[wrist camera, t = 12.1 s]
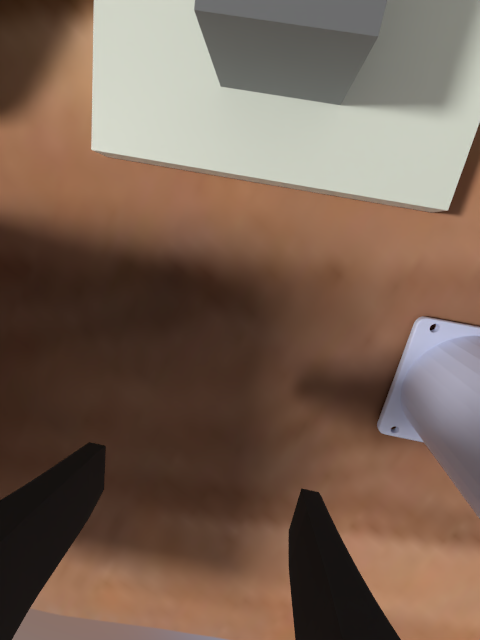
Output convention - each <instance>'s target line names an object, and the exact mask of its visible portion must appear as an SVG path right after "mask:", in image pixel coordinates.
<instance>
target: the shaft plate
mask: <svg viewBox="0 0 480 640" xmlns="http://www.w3.org/2000/svg"><path fill="white" fill-rule="evenodd" d="M194 6H195V0H94V25H93V88H92V150H93V151H95V152H97V153H100V154H102V155H104V156H106V157H111V158H117V159H123V160H128V161H134V162H140V163H146V164H152V165H158V166H163V167H169V168H175V169H181V170H187V171H193V172H198V173H204V174H210V175H216V176H222V177H228V178H233V179H239V180H245V181H251V182H257V183H263V184H268V185H274V186H280V187H286V188H292V189H298V190H303V191H309V192H315V193H321V194H327V195H333V196H338V197H344V198H350V199H356V200H362V201H368V202H373V203H379V204H385V205H391V206H397V207H403V208H408V209H414V210H420V211H426V212H440V211H448V209H449V206H450V203H451V201H452V198H453V195H454V192H455V189H456V187H457V184H458V181H459V178H460V176H461V173H462V170H463V167H464V164H465V162H466V159H467V156H468V153H469V151H470V148H471V145H472V142H473V139H474V137H475V134H476V131H477V128H478V126H479V123H480V0H387V4H386V8H385V12H384V16H383V20H382V24H381V28H380V32H379V36H378V38H377V40H376V42H375V43H374V45H373V47H372V49H371V51H370V53H369V54H368V56H367V58H366V60H365V62H364V63H363V65H362V67H361V69H360V71H359V72H358V74H357V76H356V78H355V80H354V82H353V83H352V85H351V87H350V89H349V91H348V92H347V94H346V96H345V98H344V100H343V102H342V103H341V105H335V104H329V103H323V102H316V101H310V100H303V99H297V98H291V97H284V96H278V95H271V94H265V93H259V92H252V91H246V90H239V89H233V88H226V87H221V86H220V83H219V80H218V77H217V75H216V72H215V69H214V66H213V63H212V60H211V57H210V54H209V52H208V49H207V46H206V43H205V40H204V37H203V34H202V31H201V28H200V26H199V23H198V20H197V17H196V14H195V11H194Z"/></svg>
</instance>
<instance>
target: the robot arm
mask: <svg viewBox="0 0 480 640" xmlns="http://www.w3.org/2000/svg"><path fill="white" fill-rule="evenodd" d="M433 324H436V327H435V329H433V330H430V326H431V325H433ZM394 426H396V428H395V429H391V428H392V427H394ZM377 427H378V429H379V431H380V432H381V433H383V434H386V435H391V436H395V437H400V438H405V439H410V440H415V441H420V442H424V443H425V444H426V446H427V447H428V448H429V450H430V451H431V453H432V454H433V455H434V457H435V458H436V459H437V461H438V462H439V464H440V465H441V466H442V468H443V469H444V470H445V472H446V473H447V475H448V476H449V477H450V479H451V480H452V481H453V483H454V484H455V486H456V487H457V488H458V490H459V491H460V492H461V494H462V495H463V497H464V498H465V499H466V501H467V502H468V503H469V505H470V506H471V508H472V509H473V510H474V512H475V513H476V515H477V516H478V517H479V519H480V327H479V326H473V325H468V324H463V323H457V322H452V321H447V320H441V319H436V318H431V317H420V318H418V319H417V320H416V321H415V322H414V325H413V328H412V330H411V333H410V336H409V338H408V341H407V344H406V347H405V349H404V352H403V355H402V358H401V360H400V363H399V366H398V368H397V371H396V374H395V377H394V379H393V382H392V385H391V387H390V390H389V393H388V396H387V398H386V401H385V404H384V407H383V409H382V412H381V415H380V417H379V420H378V423H377ZM105 448H106V446H104V445H99V444H95V443H90V442H89V443H88V444H86V445H85V446H83V447H82V448H80V449H79V450H77V451H76V452H74V453H73V454H71V455H70V456H68V457H67V458H66V459H64V460H63V461H61V462H60V463H58V464H57V465H55V466H54V467H52V468H51V469H49V470H48V471H46V472H45V473H43V474H42V475H40V476H38V477H37V478H35V479H34V480H32V481H31V482H29V483H28V484H26V485H25V486H23V487H21V488H20V489H18V490H17V491H15V492H13V493H12V494H10V495H8V496H7V497H5V498H3V499H2V500H0V640H12V638H13V636H14V635H15V633H16V631H17V629H18V628H19V626H20V624H21V622H22V621H23V619H24V617H25V615H26V613H27V612H28V610H29V609H30V607H31V605H32V604H33V602H34V601H35V599H36V597H37V596H38V594H39V593H40V591H41V590H42V588H43V587H44V585H45V584H46V582H47V581H48V579H49V578H50V576H51V575H52V573H53V572H54V570H55V569H56V567H57V566H58V564H59V563H60V561H61V560H62V558H63V557H64V555H65V554H66V552H67V551H68V549H69V548H70V546H71V545H72V543H73V542H74V540H75V539H76V537H77V536H78V534H79V533H80V531H81V529H82V528H83V526H84V525H85V523H86V522H87V520H88V519H89V517H90V515H91V513H92V511H93V509H94V507H95V506H96V504H97V502H98V500H99V498H100V496H101V494H102V492H103V490H104V473H105ZM289 574H290V586H291V597H292V607H293V618H294V628H295V639H296V640H401V639H400V638H399V636H398V635H397V633H396V632H395V630H394V629H393V627H392V626H391V624H390V622H389V621H388V619H387V618H386V616H385V615H384V613H383V611H382V610H381V608H380V607H379V605H378V603H377V602H376V600H375V598H374V597H373V595H372V593H371V592H370V590H369V588H368V586H367V585H366V583H365V581H364V580H363V578H362V576H361V574H360V572H359V571H358V569H357V567H356V565H355V563H354V562H353V560H352V558H351V556H350V554H349V552H348V550H347V548H346V546H345V545H344V543H343V541H342V539H341V537H340V535H339V533H338V531H337V529H336V527H335V525H334V523H333V521H332V519H331V516H330V514H329V512H328V510H327V508H326V506H325V504H324V501H323V499H322V497H321V495H320V494H319V492H315V491H310V490H306V489H301V492H300V495H299V499H298V502H297V505H296V509H295V512H294V515H293V519H292V522H291V525H290V529H289Z"/></svg>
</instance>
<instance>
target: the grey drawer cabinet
mask: <svg viewBox="0 0 480 640" xmlns="http://www.w3.org/2000/svg"><path fill="white" fill-rule="evenodd" d="M386 4H387V0H195V6H194V11H195V14H196V17H197V20H198V23H199V26H200V28H201V31H202V34H203V37H204V40H205V43H206V46H207V49H208V52H209V54H210V57H211V60H212V63H213V66H214V69H215V72H216V75H217V77H218V80H219V83H220V86H221V87H226V88H233V89H239V90H246V91H252V92H259V93H265V94H271V95H278V96H284V97H291V98H297V99H303V100H310V101H316V102H323V103H329V104H335V105H341V103H342V102H343V100H344V98H345V96H346V94H347V92H348V91H349V89H350V87H351V85H352V83H353V82H354V80H355V78H356V76H357V74H358V72H359V71H360V69H361V67H362V65H363V63H364V62H365V60H366V58H367V56H368V54H369V53H370V51H371V49H372V47H373V45H374V43H375V42H376V40H377V38H378V36H379V32H380V28H381V24H382V20H383V16H384V12H385V8H386Z"/></svg>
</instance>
